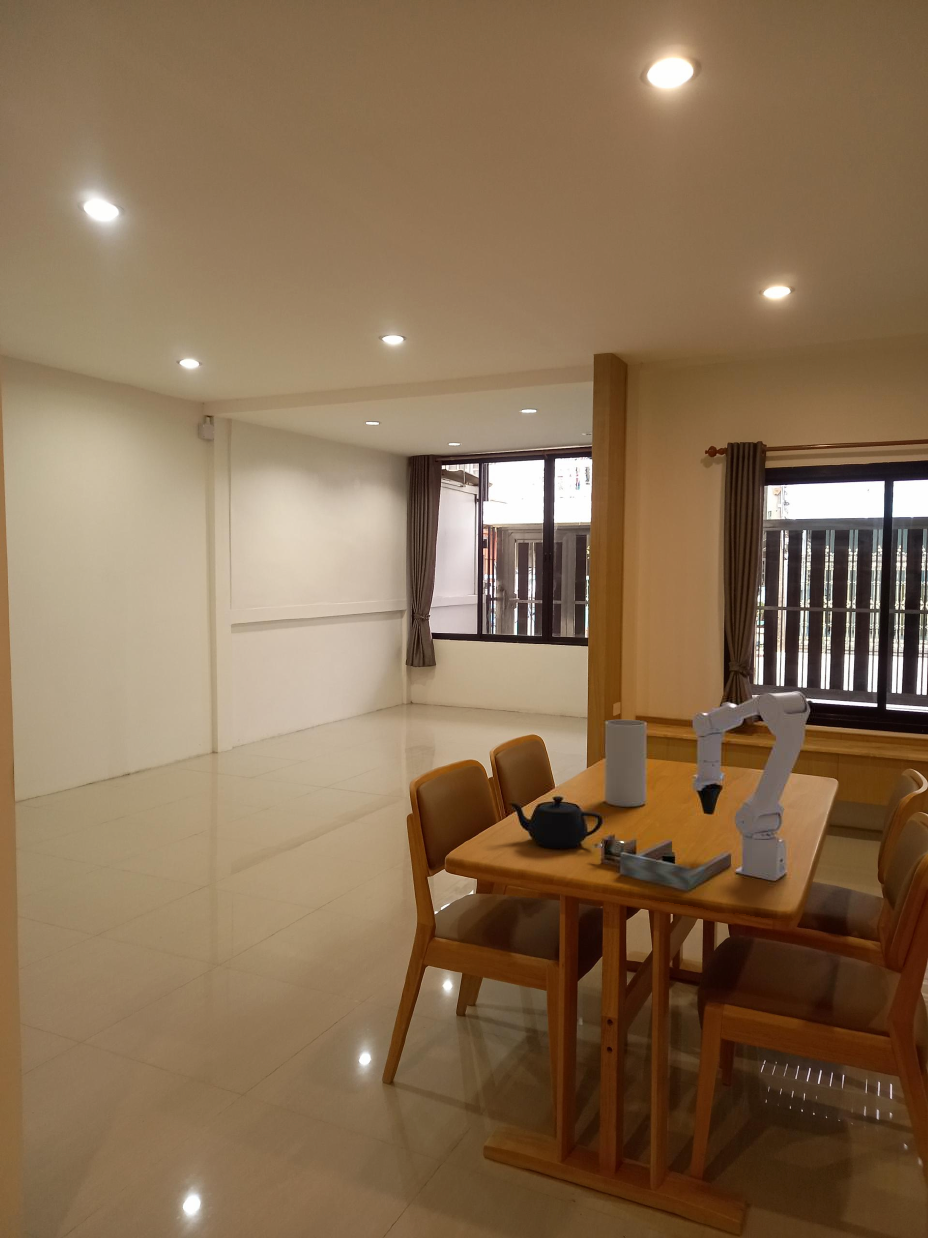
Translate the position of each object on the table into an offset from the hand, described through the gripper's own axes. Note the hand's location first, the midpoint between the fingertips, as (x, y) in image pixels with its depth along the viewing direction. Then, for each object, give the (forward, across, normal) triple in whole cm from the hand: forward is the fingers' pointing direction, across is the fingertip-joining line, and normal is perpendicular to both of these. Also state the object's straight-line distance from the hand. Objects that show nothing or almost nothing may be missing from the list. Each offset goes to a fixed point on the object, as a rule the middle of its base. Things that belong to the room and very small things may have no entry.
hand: (708, 813), depth 218 cm
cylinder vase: (+10, -31, -41) cm, 53 cm away
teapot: (+10, +18, -34) cm, 40 cm away
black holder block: (+11, +19, -1) cm, 22 cm away
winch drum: (+10, +22, -14) cm, 28 cm away
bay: (+10, +17, 0) cm, 20 cm away
